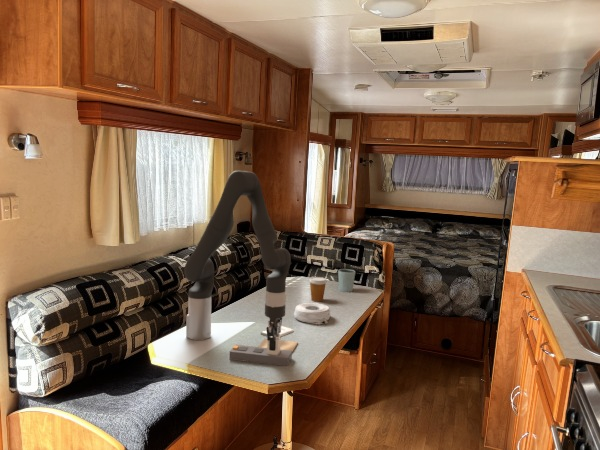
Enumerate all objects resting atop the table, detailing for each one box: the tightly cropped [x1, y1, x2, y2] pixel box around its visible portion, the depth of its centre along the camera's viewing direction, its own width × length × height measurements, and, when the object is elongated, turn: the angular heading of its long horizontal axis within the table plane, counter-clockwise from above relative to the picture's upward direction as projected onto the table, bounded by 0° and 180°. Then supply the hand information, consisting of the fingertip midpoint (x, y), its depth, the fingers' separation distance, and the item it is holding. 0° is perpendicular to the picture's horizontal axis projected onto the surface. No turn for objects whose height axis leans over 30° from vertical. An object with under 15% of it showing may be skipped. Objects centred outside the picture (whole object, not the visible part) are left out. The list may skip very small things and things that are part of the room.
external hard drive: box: [260, 325, 294, 337], centre depth 200 cm, size 2×8×12 cm
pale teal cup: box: [337, 268, 356, 293], centre depth 276 cm, size 10×10×12 cm
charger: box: [267, 336, 282, 356], centre depth 170 cm, size 4×4×10 cm
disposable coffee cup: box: [308, 276, 327, 303], centre depth 252 cm, size 10×10×12 cm
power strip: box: [229, 344, 293, 367], centre depth 171 cm, size 22×7×4 cm, turn 78°
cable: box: [293, 302, 331, 326], centre depth 221 cm, size 18×18×6 cm
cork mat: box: [257, 338, 299, 353], centre depth 185 cm, size 14×10×1 cm
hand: (273, 347), depth 170 cm, fingers closed on charger, 3 cm apart
